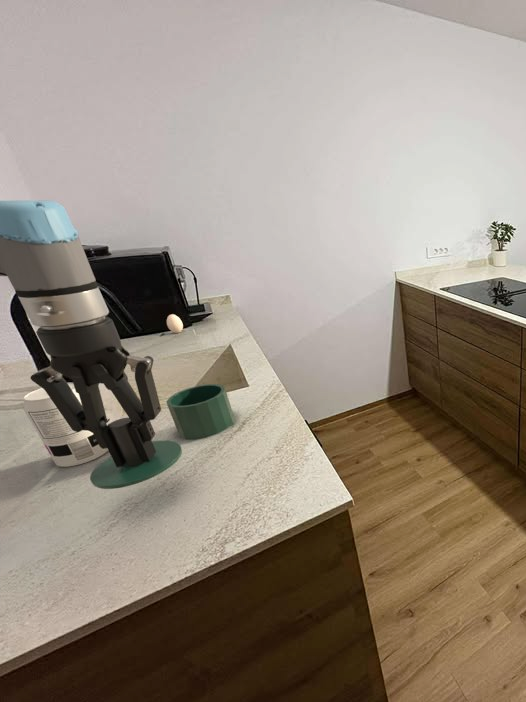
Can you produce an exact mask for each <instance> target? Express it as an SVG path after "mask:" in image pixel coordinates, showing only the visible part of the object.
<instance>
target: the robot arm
mask: <svg viewBox="0 0 526 702" xmlns="http://www.w3.org/2000/svg"><path fill="white" fill-rule="evenodd" d="M0 277H7V278H8V280H9V282H10V284H11V285H12V287H13V289H14V292H15V295H16V296H17V297H18V300H19V301H20V304H21V305H22V307H23V309H24V311H25V314H26V315H27V317H28V319H29V321H30V323H31V325H33V326H36V327H38V328H37V330H36V331H35V334H36V335H37V337H38V340H39V342H40V344H41V345H42V348H43V349H44V351H45V353H46V354H47V355H49V356H50V362H49V366H48V367H43V368H41V369H40V370H38V371H36V372H34V373H33V374H32V375H30V381H32V382H34V383H35V384H36V385H37V386H39V387H40V388H43V389H44V390H45V391H46V393H47V394H48V396H49V397H50V398H51V400H52V401H53V403H54V404H55V406H56V407H57V409H58V410H59V411H60V413H61V414H62V416H63V417H64V419H65V420H66V422H67V423H68V424H69V426H70V427H71V429H72V430H73V431H75V432H79V431H81V430H86V431H90V432H92V433H93V434H94V436H95V438H96V440H97V442H98V444H99V446H100V447H101V448H102V449H105V448H108V452H109V454H110V457H111V456H112V458H113V461H114V463H115V465H116V467H122V466H123V465H124V464H125V461H124V458H123V456H122V454H121V452H120V450H119V448H118V446H117V444H116V442H115V439H114V437H113V435H112V433H111V431H110V429H109V427H108V425H109V424H110V423H109V422H110V420H111V419H110V418H107V414H106V410H105V405H104V401H103V399H102V395H101V390H100V384H103V385H104V387H105V388H106V389H107V390H108V391H110V392H111V393H112V395H113V396H114V398H115V399H116V400H117V402H118V403H119V405H120V406H121V408H122V409H123V411H124V413H125V414H126V415H127V418H130V420H131V421H132V423H133V424H132V425H131V426H130V427H129V430H130V433H131V435H132V437H133V439H134V442H135V444H136V446H137V448H138V450H139V453H140V455H141V457H142V459H143V461H144V462H149V461H150V460H151V459H152V457H153V456H154V454H155V453H156V450H155V448H154V445H153V443H152V442H153V439H154V437H155V435H156V431H155V430H154V428H153V425H152V423H151V421H153V420H155V419H156V418H157V417H158V415H159V414H160V412H161V411H162V407H161V403H160V399H159V396H158V395H159V394H158V391H157V387H156V384H155V380H154V375H153V371H152V370H153V366H154V365H153V364H154V358H153V357H152V356H149V355H146V356H143V357H140V356H135V355H131V354H130V352H129V351H128V350H126V349H125V348H124V347H123V344H122V342H121V338H120V335H119V333H118V330H117V328H116V326H115V323H114V321H113V319H112V318H111V317H109V316H108V315H109V314H110V310H109V308H108V306H107V304H106V301H105V298H104V297H103V295H102V293H101V290H100V287H99V286H98V283H97V281H96V277H95V275H94V272H93V270H92V268H91V265H90V263H89V259H88V257H87V255H86V252H85V249H84V247H83V244H82V241H81V238H80V237H79V232H78V230H77V229H76V228H75V227H74V226H73V223H72V221H71V219H70V217H69V214H68V213H67V210H66V208H65V207H64V206H63V205H62V204H60V203H59V202H56V201H54V200H0ZM127 365H129V367H130V371H131V372H132V373H134V381H135V384H136V388H137V392H138V394H137V393H136V392H135V390H134V388H133V387H132V386H131V384H130V381H129V377H128V375H127V373H126V372H125V369H126V367H127ZM63 376H64V377H66V378H67V379H69V380H70V381H72V383H73V384H74V387H75V391H76V393H79V396H80V400H81V403H80V402H79V400H78V399H77V397H76V396H75V394H74V393H73V391H72V390H71V388H70V386H69V385H68V383H69V382H67V380H65V378H64V377H63ZM138 395H139V396H138ZM81 404H82V405H81Z"/></svg>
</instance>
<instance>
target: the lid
mask: <svg viewBox="0 0 526 702" xmlns="http://www.w3.org/2000/svg"><path fill="white" fill-rule="evenodd" d="M108 424H109V425H108ZM108 424H107V425H108V427H109V429H110V431H111V433H112V435H113V437H114V439H115V442H116V444H117V446H118V448H119V450H120V452H121V454H122V456H123V458H124V461H125V464H124V465H123V466H122V467H116V465H115V463H114V461H113V458H112V456H111V455H110V456H108V458H106V459H105V460H103V461H101V462H100V463H99V464H98V465H97V466H95V468H94V469H93V470H92V471H91V473H90V477H89V480H90V482H91V484H92V485H93V486H94V487H96V488H97V489H103V490H113V489H120V488H126V487H130V486H135V485H136V484H140V483H143V482H145V481H147V480H150V479H152V478H154V477H157V476H158V475H160V474H162V473H163V472H165V471H167V470H169V469H170V468H171V467H173V466H174V465H175V463H177V462H178V461H179V460H180V458H181V457H182V455H183V448H182V446H181V444H179V443H178V442H177V441H173V440H155V441H152V443H153V445H154V448H155V450H156V453H155V454H154V456H153V457H152V459H151V460H150V461H149V462H144V461H143V459H142V457H141V455H140V453H139V450H138V448H137V446H136V444H135V442H134V439H133V437H132V435H131V433H130V430H129V427H130V426H131V425H132V424H133V423H132V421H131V420H130V418H129V417H122V418H118V419H115V420H113V421H111V422H110V423H108Z"/></svg>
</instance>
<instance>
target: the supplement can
mask: <svg viewBox="0 0 526 702" xmlns="http://www.w3.org/2000/svg"><path fill="white" fill-rule="evenodd" d="M67 383H68V385H69V386H70V388H71V390H72V391H73V393H74V394H75V396H76V397H77V399H78V400H79V402H80V403H81V400H80V396H79V393H76V391H75V387H74V384H73V382H67ZM23 400H24V401H23V404H22V409H23V410H24V412H25V414H26V416H27V418H28V419H29V421H30V422H31V425H32V426H33V428H34V429H35V431H36V433H37V435H38V437H39V438H40V439H41V441H42V443H43V445H44V446H45V449H46V450H47V452H48V454H49V455H50V457H51V459H52V461H53V462H54V464H55V465H56V466H57V467H61V468H63V467H64V468H66V467H67V468H68V467H74V466H79V465H84V464H86V463H89V462H91V461H94V460H96V459H98V458H100V457H102V456H103V455H104V454H106V453H107V452H109V450H108V448H105V449H102V448H101V447H100V446H99V444H98V442H97V440H96V438H95V436H94V434H93V433H92V432H90V431H86V430H81V431H79V432H75V431H73V430H72V429H71V427H70V426H69V424H68V423H67V422H66V420H65V419H64V417H63V416H62V414H61V413H60V411H59V410H58V409H57V407H56V406H55V404H54V403H53V401H52V400H51V398H50V397H49V396H48V394H47V393H46V391H45V390H44V389H43V388H42V387H40V388H38V389H35V390H33V391H31V392H29V393H27V394H25V395H24V397H23ZM81 405H82V404H81Z"/></svg>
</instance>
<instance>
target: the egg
mask: <svg viewBox="0 0 526 702" xmlns="http://www.w3.org/2000/svg"><path fill="white" fill-rule="evenodd" d="M166 318H167V319H166V326H167V328H168V330H170V332H172V333H174V334H179V333H181V332H182V331H183V329H184V324H183V321H182V320H181V318H180V317H179V316H177V315H176V314H174V313H172V314H169V315H168V316H167V317H166Z"/></svg>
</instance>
